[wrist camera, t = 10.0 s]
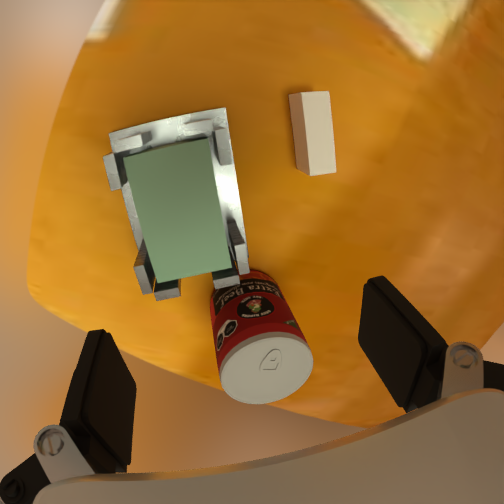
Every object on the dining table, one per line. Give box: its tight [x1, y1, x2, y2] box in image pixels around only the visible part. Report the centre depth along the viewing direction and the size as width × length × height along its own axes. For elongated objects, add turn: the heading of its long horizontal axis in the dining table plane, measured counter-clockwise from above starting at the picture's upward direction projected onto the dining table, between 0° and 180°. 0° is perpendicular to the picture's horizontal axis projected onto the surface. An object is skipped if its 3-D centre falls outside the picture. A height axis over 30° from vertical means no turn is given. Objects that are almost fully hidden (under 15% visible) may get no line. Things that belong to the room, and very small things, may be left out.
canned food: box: [210, 270, 313, 404], centre depth 29 cm, size 8×8×11 cm
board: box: [123, 137, 232, 283], centre depth 23 cm, size 10×6×2 cm, turn 8°
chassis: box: [103, 108, 250, 301], centre depth 25 cm, size 14×10×6 cm
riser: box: [288, 91, 336, 176], centre depth 25 cm, size 7×2×4 cm, turn 7°
